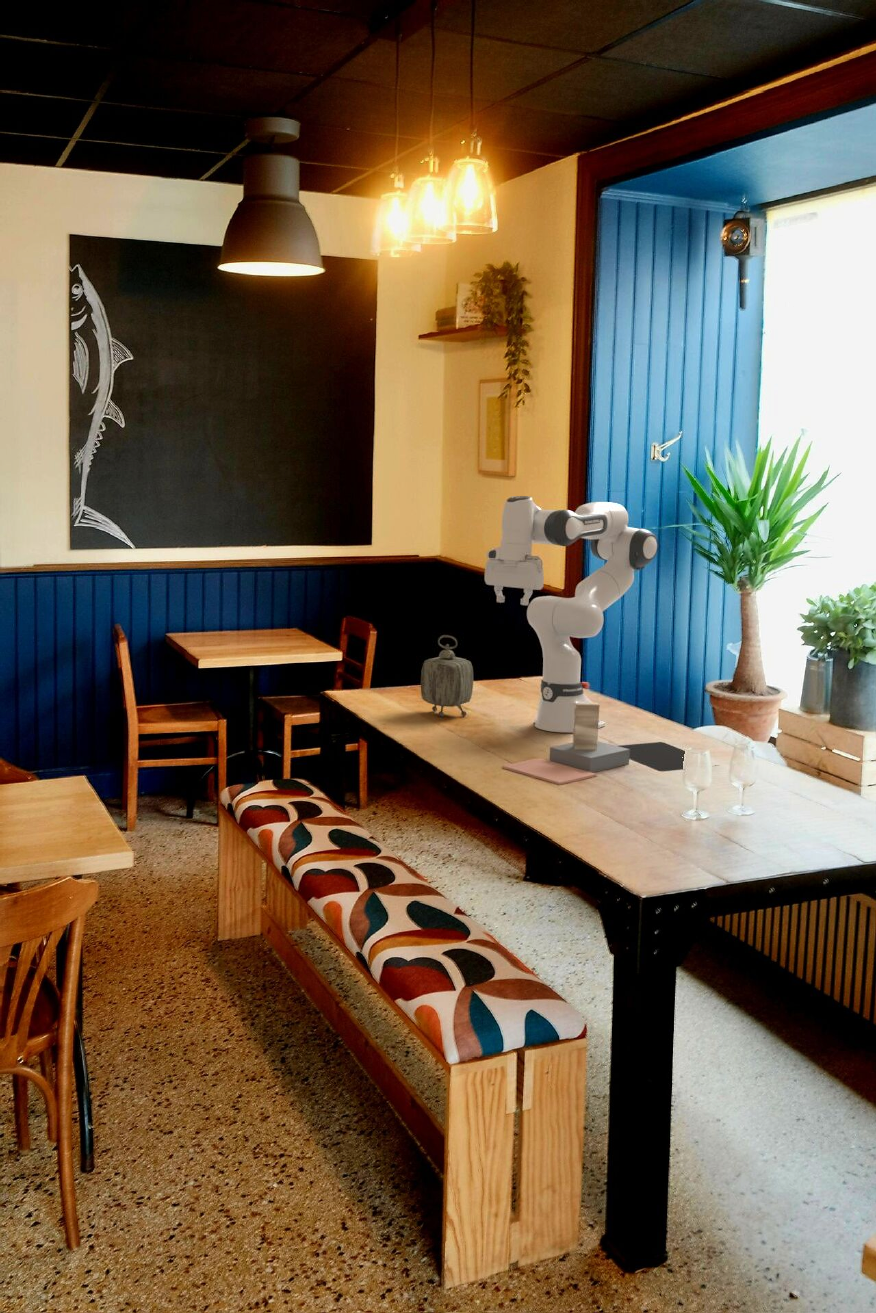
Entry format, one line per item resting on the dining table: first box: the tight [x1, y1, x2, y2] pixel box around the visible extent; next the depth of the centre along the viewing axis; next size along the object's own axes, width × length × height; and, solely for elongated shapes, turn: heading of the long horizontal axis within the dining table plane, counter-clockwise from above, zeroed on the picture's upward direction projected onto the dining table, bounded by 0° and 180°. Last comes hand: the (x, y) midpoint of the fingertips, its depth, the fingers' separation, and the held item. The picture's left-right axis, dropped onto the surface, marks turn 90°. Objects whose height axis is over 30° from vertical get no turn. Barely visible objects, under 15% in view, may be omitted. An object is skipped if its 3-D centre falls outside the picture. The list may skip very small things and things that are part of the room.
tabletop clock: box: [420, 634, 474, 717], centre depth 376 cm, size 14×9×25 cm, turn 58°
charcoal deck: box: [549, 740, 630, 773], centre depth 326 cm, size 16×14×4 cm
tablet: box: [618, 741, 686, 772], centre depth 336 cm, size 27×1×20 cm
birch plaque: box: [572, 702, 600, 750], centre depth 325 cm, size 3×6×12 cm, turn 94°
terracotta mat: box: [501, 757, 598, 786], centre depth 316 cm, size 14×20×1 cm
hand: (512, 603), depth 344 cm, fingers open, 8 cm apart
